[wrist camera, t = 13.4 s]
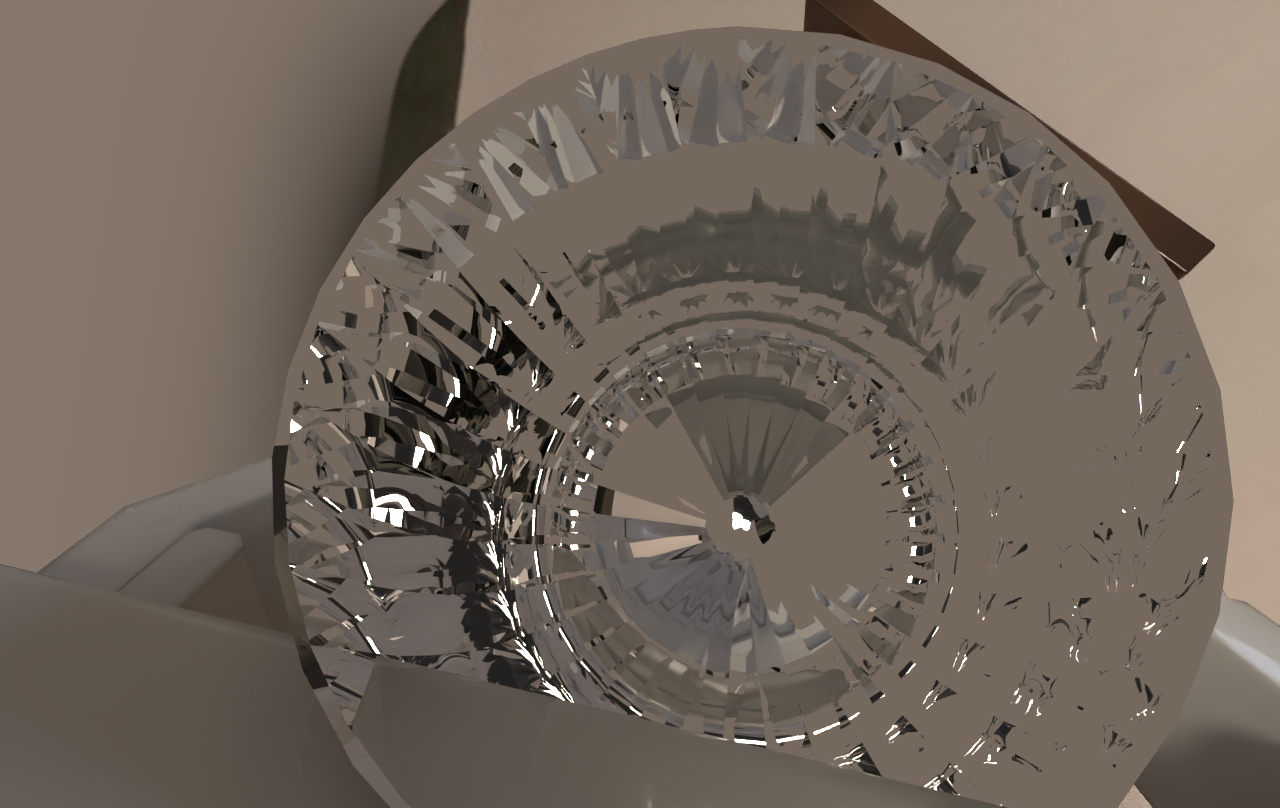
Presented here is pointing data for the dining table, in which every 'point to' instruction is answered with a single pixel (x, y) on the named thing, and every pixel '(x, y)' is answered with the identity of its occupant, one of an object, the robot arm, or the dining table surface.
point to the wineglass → (763, 426)
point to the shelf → (849, 10)
